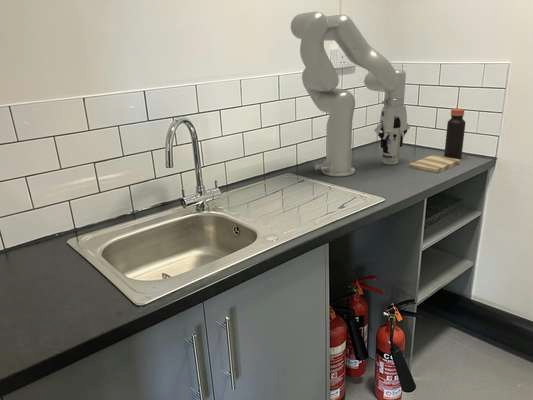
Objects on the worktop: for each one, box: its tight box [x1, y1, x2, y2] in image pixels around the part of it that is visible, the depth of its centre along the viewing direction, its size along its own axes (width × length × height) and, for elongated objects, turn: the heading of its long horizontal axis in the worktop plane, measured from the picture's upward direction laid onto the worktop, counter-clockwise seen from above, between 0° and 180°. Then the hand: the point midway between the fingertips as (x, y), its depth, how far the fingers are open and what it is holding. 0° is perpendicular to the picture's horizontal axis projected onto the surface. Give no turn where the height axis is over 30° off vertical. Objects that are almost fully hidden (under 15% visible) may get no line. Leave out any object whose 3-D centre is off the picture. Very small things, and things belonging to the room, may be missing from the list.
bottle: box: [443, 108, 466, 160], centre depth 180 cm, size 7×7×20 cm
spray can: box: [381, 116, 401, 166], centre depth 177 cm, size 7×7×20 cm
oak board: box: [408, 154, 461, 174], centre depth 174 cm, size 18×12×2 cm, turn 131°
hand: (391, 146), depth 178 cm, fingers closed on spray can, 6 cm apart
